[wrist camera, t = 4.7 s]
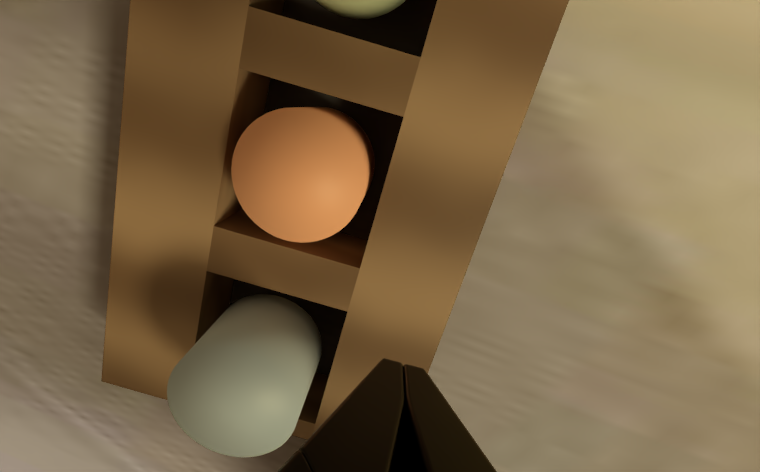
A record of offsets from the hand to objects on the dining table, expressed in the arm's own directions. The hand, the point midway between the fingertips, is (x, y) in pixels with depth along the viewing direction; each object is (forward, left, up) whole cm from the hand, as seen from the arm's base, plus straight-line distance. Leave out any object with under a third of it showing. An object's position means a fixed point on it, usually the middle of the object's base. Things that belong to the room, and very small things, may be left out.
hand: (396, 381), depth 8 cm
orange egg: (+2, +4, -11) cm, 12 cm away
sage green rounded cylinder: (-6, +4, -9) cm, 12 cm away
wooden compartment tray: (+2, +4, -12) cm, 13 cm away
